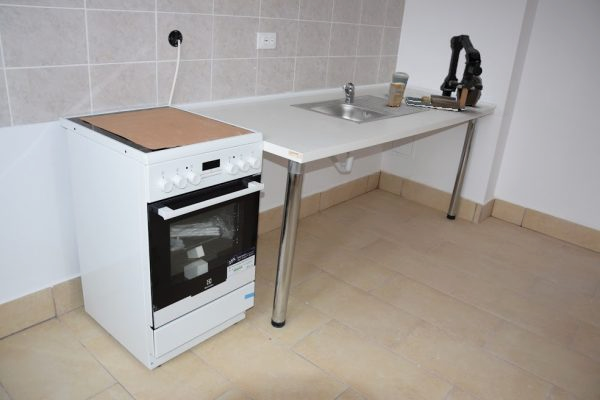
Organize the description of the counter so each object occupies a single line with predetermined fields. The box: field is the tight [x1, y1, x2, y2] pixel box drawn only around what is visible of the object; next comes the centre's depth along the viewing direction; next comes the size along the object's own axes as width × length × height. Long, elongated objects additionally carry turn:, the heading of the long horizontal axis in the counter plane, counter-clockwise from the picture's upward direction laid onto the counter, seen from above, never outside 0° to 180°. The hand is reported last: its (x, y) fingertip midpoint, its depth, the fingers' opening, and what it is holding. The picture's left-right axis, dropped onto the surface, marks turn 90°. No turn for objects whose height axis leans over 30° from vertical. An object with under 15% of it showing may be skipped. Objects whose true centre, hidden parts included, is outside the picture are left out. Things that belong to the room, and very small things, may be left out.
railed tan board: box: [429, 94, 460, 109], centre depth 297 cm, size 15×15×6 cm
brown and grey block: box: [459, 88, 468, 110], centre depth 295 cm, size 10×3×12 cm, turn 175°
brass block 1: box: [420, 95, 430, 103], centre depth 300 cm, size 4×4×4 cm
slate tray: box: [404, 96, 434, 106], centre depth 298 cm, size 14×16×2 cm
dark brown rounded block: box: [455, 75, 483, 107], centre depth 308 cm, size 15×8×20 cm, turn 76°
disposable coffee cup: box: [391, 71, 410, 92], centre depth 310 cm, size 11×11×15 cm
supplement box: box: [386, 82, 406, 108], centre depth 285 cm, size 8×5×13 cm, turn 129°
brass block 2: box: [422, 97, 431, 104], centre depth 294 cm, size 4×4×4 cm
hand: (462, 99), depth 295 cm, fingers closed on brown and grey block, 3 cm apart
